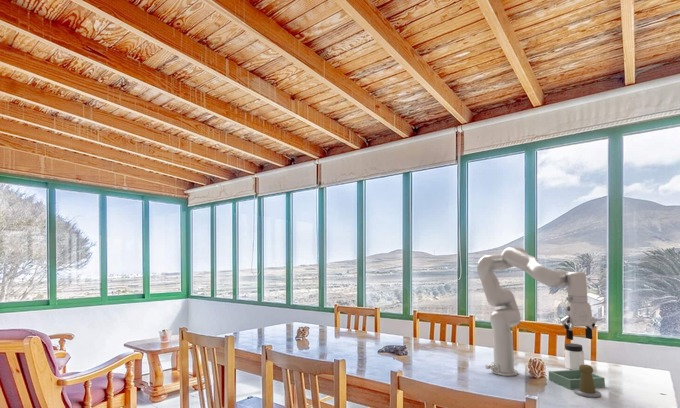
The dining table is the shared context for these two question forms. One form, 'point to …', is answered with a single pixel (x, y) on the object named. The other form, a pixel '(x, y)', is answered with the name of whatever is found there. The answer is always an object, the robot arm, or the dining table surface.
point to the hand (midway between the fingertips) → (579, 338)
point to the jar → (573, 356)
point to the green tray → (573, 378)
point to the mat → (595, 395)
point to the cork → (586, 379)
